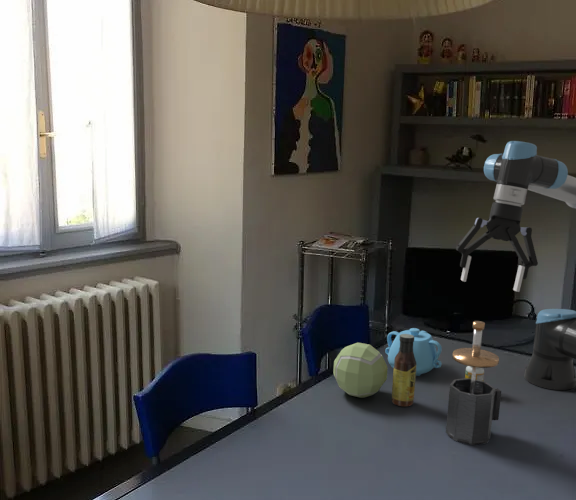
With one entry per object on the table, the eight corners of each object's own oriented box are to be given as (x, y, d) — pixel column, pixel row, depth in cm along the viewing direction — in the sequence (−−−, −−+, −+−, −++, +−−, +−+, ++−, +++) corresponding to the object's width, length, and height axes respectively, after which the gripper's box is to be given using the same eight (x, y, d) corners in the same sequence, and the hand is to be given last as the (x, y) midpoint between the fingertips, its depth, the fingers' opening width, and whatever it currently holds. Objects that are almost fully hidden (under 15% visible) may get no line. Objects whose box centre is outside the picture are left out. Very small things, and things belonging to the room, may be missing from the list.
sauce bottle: (413, 409, 176) (418, 341, 173) (390, 406, 178) (395, 338, 174) (413, 399, 183) (418, 333, 179) (391, 397, 184) (396, 331, 180)
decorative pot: (382, 359, 214) (384, 320, 211) (429, 360, 215) (432, 321, 212) (391, 378, 198) (394, 337, 195) (442, 379, 199) (446, 337, 196)
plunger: (477, 391, 168) (485, 314, 164) (503, 410, 158) (512, 328, 153) (440, 395, 165) (447, 317, 161) (463, 414, 154) (471, 331, 150)
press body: (483, 421, 170) (487, 376, 168) (507, 440, 160) (513, 392, 158) (438, 426, 166) (442, 380, 164) (460, 446, 156) (465, 397, 154)
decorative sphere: (343, 380, 195) (346, 333, 192) (390, 390, 188) (394, 342, 186) (325, 398, 181) (327, 348, 178) (375, 409, 175) (379, 358, 172)
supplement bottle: (486, 393, 189) (489, 363, 187) (471, 395, 187) (474, 365, 185) (474, 386, 194) (477, 356, 192) (460, 388, 192) (462, 358, 190)
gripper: (462, 194, 156) (444, 278, 158) (563, 213, 155) (543, 297, 157) (455, 194, 163) (438, 274, 166) (552, 212, 162) (533, 292, 165)
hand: (489, 286), depth 161 cm, fingers open, 13 cm apart
